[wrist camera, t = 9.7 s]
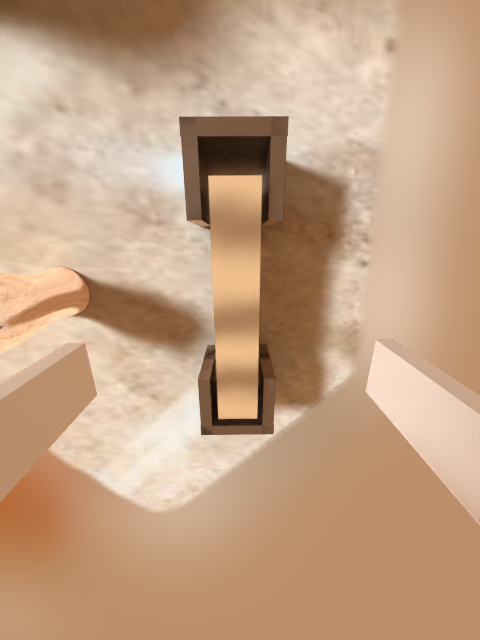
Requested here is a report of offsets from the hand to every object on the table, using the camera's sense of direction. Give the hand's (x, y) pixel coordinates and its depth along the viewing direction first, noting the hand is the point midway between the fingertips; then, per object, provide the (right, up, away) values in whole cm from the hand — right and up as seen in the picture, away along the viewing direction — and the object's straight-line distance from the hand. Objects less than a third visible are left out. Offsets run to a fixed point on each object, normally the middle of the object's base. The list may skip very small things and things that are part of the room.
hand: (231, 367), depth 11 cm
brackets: (0, +6, +19) cm, 20 cm away
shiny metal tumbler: (-22, +6, +19) cm, 29 cm away
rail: (0, +4, +15) cm, 16 cm away
